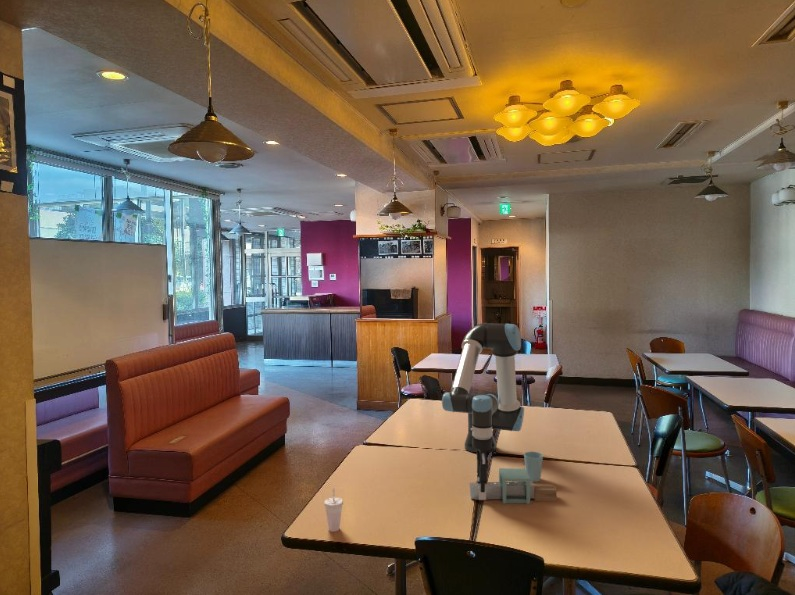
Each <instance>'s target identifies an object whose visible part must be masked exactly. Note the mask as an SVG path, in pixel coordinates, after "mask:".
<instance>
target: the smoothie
mask: <svg viewBox="0 0 795 595" xmlns="http://www.w3.org/2000/svg"><path fill="white" fill-rule="evenodd" d="M343 500H344V499H343V498H341V497H336V496H335V487H332V496H331V497H328V498H326V499H325V500H324V501H323V503H324V504H323V505H324V508H325V513H326V521H327V529H328V531H329V532H334V533H335V532H338V531H339V530H340V529H341V527H340V526H341V519H342V508H343V505H344V501H343Z"/></svg>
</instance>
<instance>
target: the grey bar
mask: <svg viewBox="0 0 795 595" xmlns="http://www.w3.org/2000/svg"><path fill="white" fill-rule="evenodd" d="M534 484H535V483H534V482H532V481H530V499H534V498H535V489H534ZM469 496H470V500H471V499H475V500H476V501H477V500H478V501H480V500H479V484H478V483H477V482H473V481H472V482H469ZM506 499H526V481H506ZM486 500H502V482H499V481H487V484H486Z"/></svg>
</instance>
